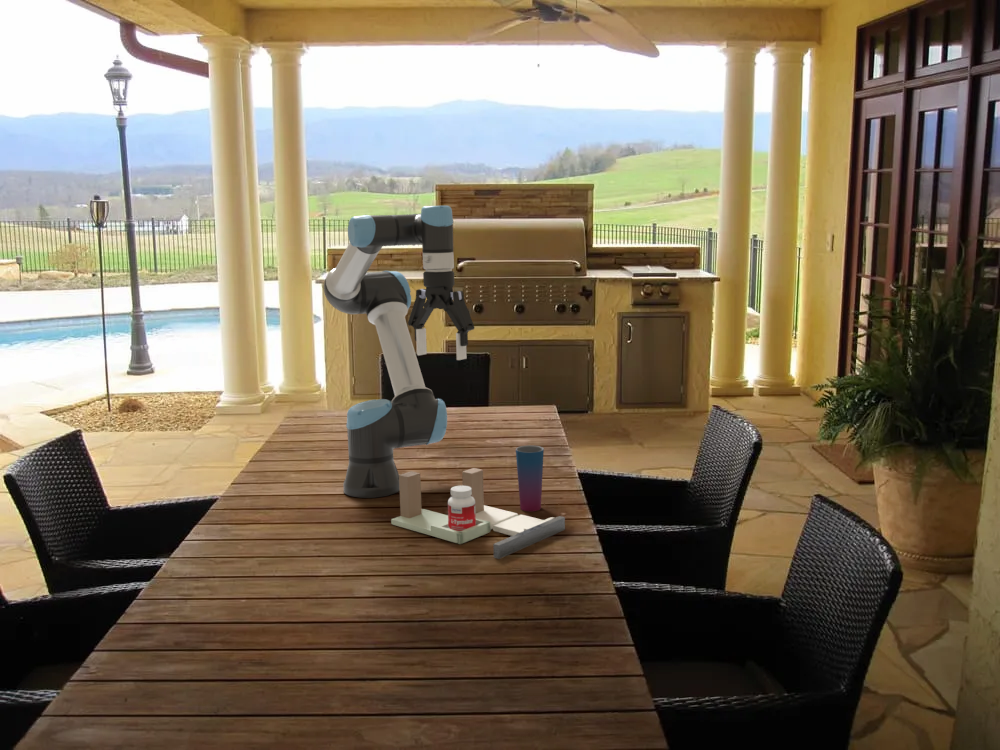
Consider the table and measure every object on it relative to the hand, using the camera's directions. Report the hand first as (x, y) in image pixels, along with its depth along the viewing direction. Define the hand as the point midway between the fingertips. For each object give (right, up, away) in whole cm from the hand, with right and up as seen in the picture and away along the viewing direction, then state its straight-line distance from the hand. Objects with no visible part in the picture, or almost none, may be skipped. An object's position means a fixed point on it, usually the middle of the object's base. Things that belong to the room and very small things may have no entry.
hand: (441, 357), depth 233 cm
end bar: (+21, -41, -25) cm, 53 cm away
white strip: (+20, -40, -17) cm, 48 cm away
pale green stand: (+1, -40, -15) cm, 43 cm away
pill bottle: (+6, -41, -19) cm, 46 cm away
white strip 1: (+11, -39, -10) cm, 41 cm away
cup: (+22, -37, -1) cm, 43 cm away
